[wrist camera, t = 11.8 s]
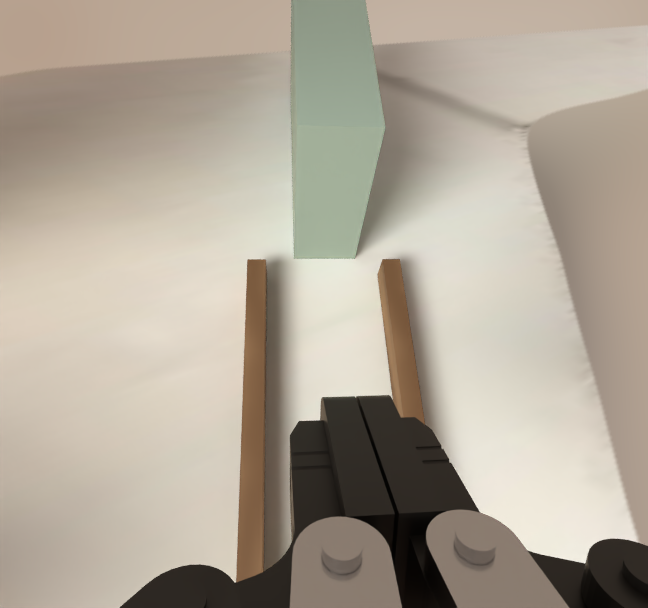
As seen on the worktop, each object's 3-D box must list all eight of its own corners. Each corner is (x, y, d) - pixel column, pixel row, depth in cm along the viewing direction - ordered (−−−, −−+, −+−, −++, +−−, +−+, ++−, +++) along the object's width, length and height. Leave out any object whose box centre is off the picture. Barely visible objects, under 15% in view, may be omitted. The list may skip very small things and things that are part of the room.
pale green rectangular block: (293, 259, 33) (297, 125, 23) (290, 95, 42) (291, -58, 31) (354, 259, 34) (385, 127, 23) (339, 97, 42) (356, -54, 32)
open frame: (237, 676, 22) (232, 688, 20) (249, 275, 32) (247, 259, 30) (449, 659, 23) (462, 669, 21) (393, 274, 33) (399, 259, 31)
